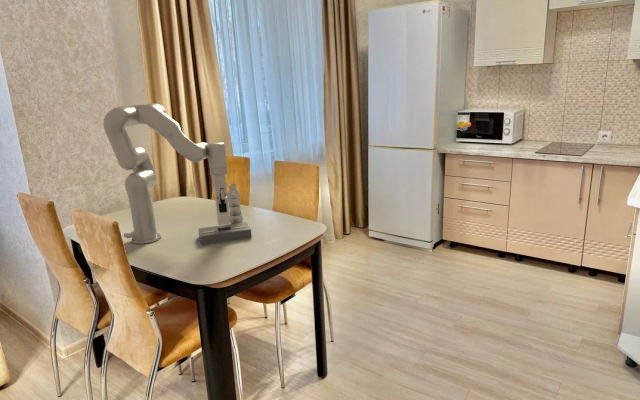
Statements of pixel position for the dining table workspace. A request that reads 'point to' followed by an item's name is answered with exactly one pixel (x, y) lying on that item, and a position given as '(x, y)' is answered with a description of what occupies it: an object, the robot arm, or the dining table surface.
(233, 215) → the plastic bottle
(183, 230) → the dining table surface
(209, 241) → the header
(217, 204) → the plug
